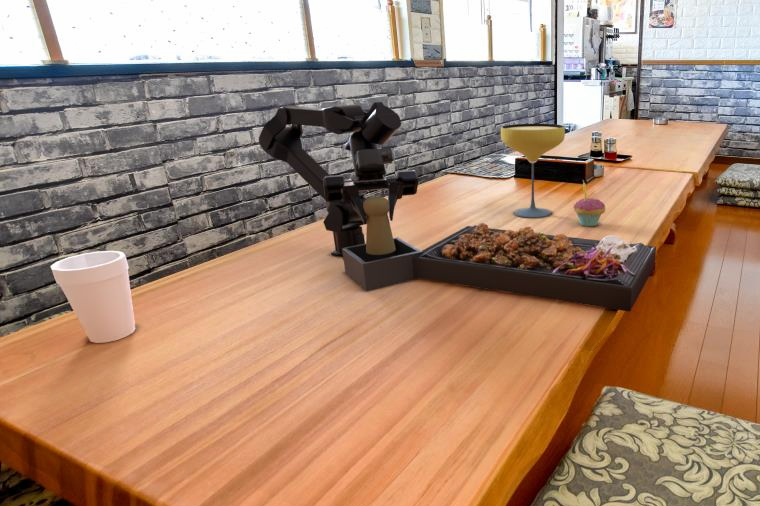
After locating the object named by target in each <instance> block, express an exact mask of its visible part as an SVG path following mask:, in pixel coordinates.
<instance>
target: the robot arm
mask: <svg viewBox="0 0 760 506" xmlns="http://www.w3.org/2000/svg"><path fill="white" fill-rule="evenodd" d="M289 125H290V126H289ZM303 126H308V127H321V128H324V129H325V130H326V131H327V132H330V133H331V134H336V135H346V134H351V135H350V136H349V137H348V141H347V142H346V143H345V145H344V149H345V150H346V151H350V153H351V159H352V164H353V170H354V175H355V179H353V178H348V179H347V178H346V179H344V178H345V177H344V174H339V175H331V174H330V173H329V172H328V171H326V170H325V169H324V168H323V167H322V166H321V164H319V163H318V162H317V161H316V160H315V159H314V158H313V156H311V155H310V154H309V153H308V152H307V151H306V150H305V149H304V148H303V146H304V145H303V140H302V136H303V134H304V129H303ZM401 126H402V120H401V117H400V115H399V114H398V113H397V112H395V110H393V109H392V108H390V107H389V106H386V105H385V104H384V103H383V101H374V102H373V103H372V105H371V106H370V108H369V110H368V111H365V110H363V108H362V106H361V105H360V104H345V105H344V104H343V105H333V106H328V107H324V108H322V107H309V106H308V107H307V106H299V105H287V106H286V105H285V106H281V107H279V108H278V109H277V111H276V113H275V114H274V116H273V117H272V118H270V120H268V121H267V122H266V123H265V124H264V125H263V127H262V129H261V132H260V133H259V136H258V144H259V146H260V148H261V149H262V151H264V152H265V153H266V154H267V155H269V156H270V157H271V158H273V159H275V160H278V161H280V162H283V163H286V164H287V165H288V166H290V167H291V168H292V169H293V171H295V172H296V173H297V174H298V175H299V176H300V177H301V178H302V179H303V180H304V181H305V182H306V183H307V184H308V185H309V187H311V188H312V189H313V190H314V191H315V192H316V193H317V194H318V195H319V196H320V197H321V198H322V199H323V200H324V201H325V207H326V212H327V215H326V216H325V218H324V219H323V225H324V228H325V230H326V231H328V232H332V235H333V242H334V249H335V250H332V251H331V252H330V254H331V255H334V256H341V257H343V252H342V248H345V247H350V246H355V245H361V244H366V240H365V239H366V238H365V234H364V233H363V227H362V226H367V215H366V213H365V212H364V209H363V203H364V201H365V200H366V199H367V198H366V197H365V196H366V194H364V193H362V192H367V191H380V190H387V191H388V192H387V193H388V194H387V200H388V202H389V205H390V209H389V212H388V218H389V222H390V221H391V222H393V220H394V213H395V207H396V205H397V202H398V200H402V198H403V197H404V196H405V197H406V196H415V195H416V194H417V193H418V187H419V181H420V180H419V175H418V172H416V170H414V169H411V170H410V169H409V170H407V169H406V170H397V171H396V177H394V178H393V177H392V178H385V175H386V167H385V165H389V164H393V161H394V157H393V150H392V145H385V144H386V143H388V141H389V140H390V139H391V138H392V137H393V136H394V135H395V133H396V132H397V131H398V130H399V129H400V128H401ZM383 145H385V146H383ZM379 146H380V147H381V148H379Z"/></svg>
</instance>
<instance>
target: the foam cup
mask: <svg viewBox="0 0 760 506" xmlns="http://www.w3.org/2000/svg"><path fill="white" fill-rule="evenodd" d="M50 269H51V272H52V274H53V278H54V280H55V282H56V284H57V285H59V287H60V289H61V290H62V292H63V294H64V296H65V297H66V300H67V301H68V303H69V305H70V307H71V308H72V311H73V312H74V314H75V316H76V318H77V320H78V321H79V324H80V325H81V327H82V329H83V331H84V332H85V335H86V336H87V338H88V340H89V341H90V343H95V344H102V343H109V342H114V341H118V340H121V339H123V338H127V337H129V336H130V335H132V334H133V333H134V332H135V330H136V322H135V315H134V307H133V298H132V292H131V284H130V283H131V282H130V276H129V269H130V266H129V263H128V260H127V256H126V254H125V253H124V252H123V251H120V250H119V251H118V250H100V251H99V250H98V251H91V252H85V253H80V254H77V255H73V256H68V257H66V258H63V259H60V260H58V261H55V262H54V263H53V264H51V265H50Z"/></svg>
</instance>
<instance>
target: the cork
mask: <svg viewBox="0 0 760 506" xmlns="http://www.w3.org/2000/svg"><path fill="white" fill-rule="evenodd" d="M363 209H364V212H365V213H366V215H367V224H366V233H365V234H366V235H365V239H366V240H365V244H366V252H367V253H368V254H372V255H383V254H389V253H392V252H394V251H395V250H396V248H395V244H394V240H393V238H394V236H393V231H392V228H391V223H390V217H389V209H390V205H389V202H388V198H385V197H383V196H372V197H368V198H366V200H365V201H364V203H363Z"/></svg>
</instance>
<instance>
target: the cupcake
mask: <svg viewBox="0 0 760 506" xmlns="http://www.w3.org/2000/svg"><path fill="white" fill-rule="evenodd" d="M582 189H583V196H584V198H581V199H579V200H577V201H576V202H575V203H574V205H573V211H574V212H575V213H576V215H577V218H578V221H579V224H580V225H581V226H583V227H596V226H597V225H598V224H599V221H600V218H601V216H602V214H604V213H605V212H606V205H605V203H604V202H603V201H601V200H600V199H597V198H592V197H591V198H589V197H588V193H587V186H586V182H585V180H584V179H582Z"/></svg>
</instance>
